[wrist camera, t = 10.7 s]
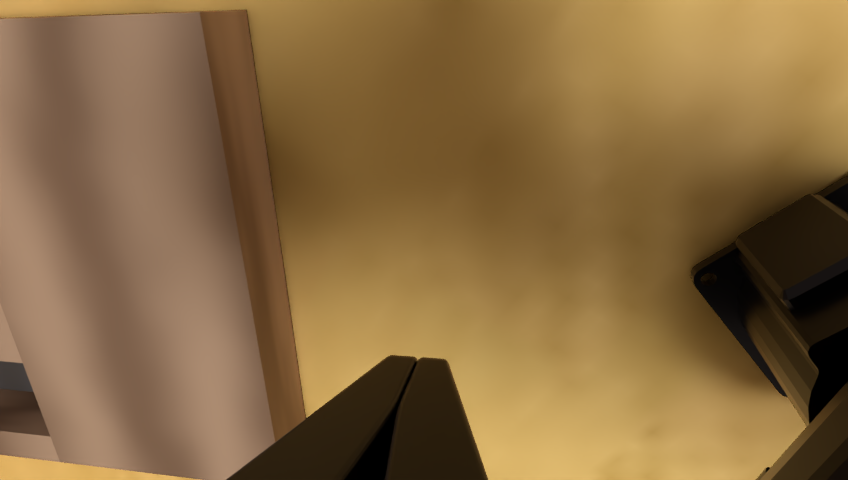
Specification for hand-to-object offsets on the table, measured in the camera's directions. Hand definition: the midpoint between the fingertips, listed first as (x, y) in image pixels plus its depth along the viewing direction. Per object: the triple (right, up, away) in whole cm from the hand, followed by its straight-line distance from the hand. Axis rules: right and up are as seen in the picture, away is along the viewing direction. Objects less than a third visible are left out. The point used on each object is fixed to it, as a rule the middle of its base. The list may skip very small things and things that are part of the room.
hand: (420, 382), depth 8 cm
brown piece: (-18, +2, +17) cm, 25 cm away
